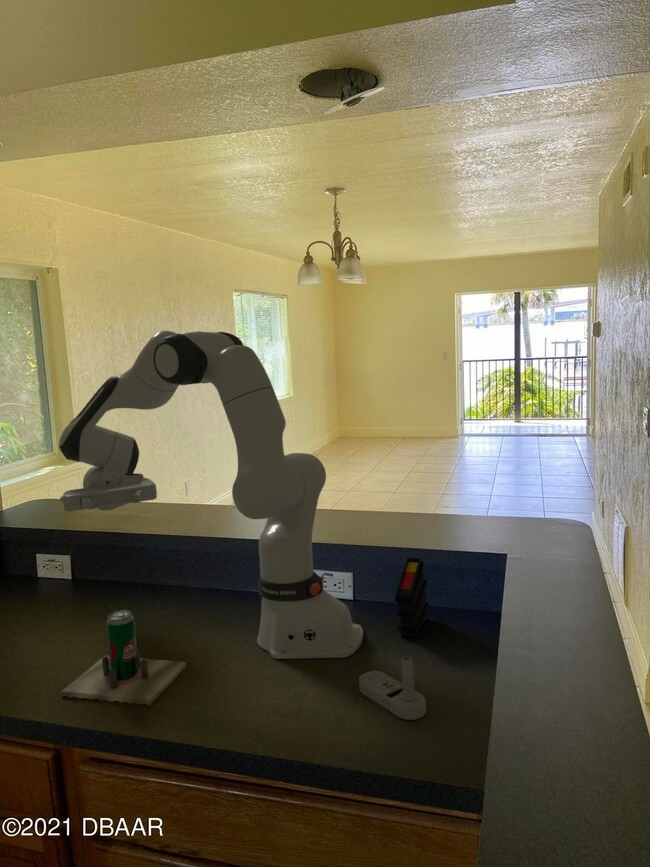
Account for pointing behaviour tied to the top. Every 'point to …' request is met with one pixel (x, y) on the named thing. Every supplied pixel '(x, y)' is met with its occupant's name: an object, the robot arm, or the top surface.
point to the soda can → (122, 644)
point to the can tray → (125, 681)
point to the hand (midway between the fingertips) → (114, 502)
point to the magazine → (411, 597)
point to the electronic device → (395, 691)
